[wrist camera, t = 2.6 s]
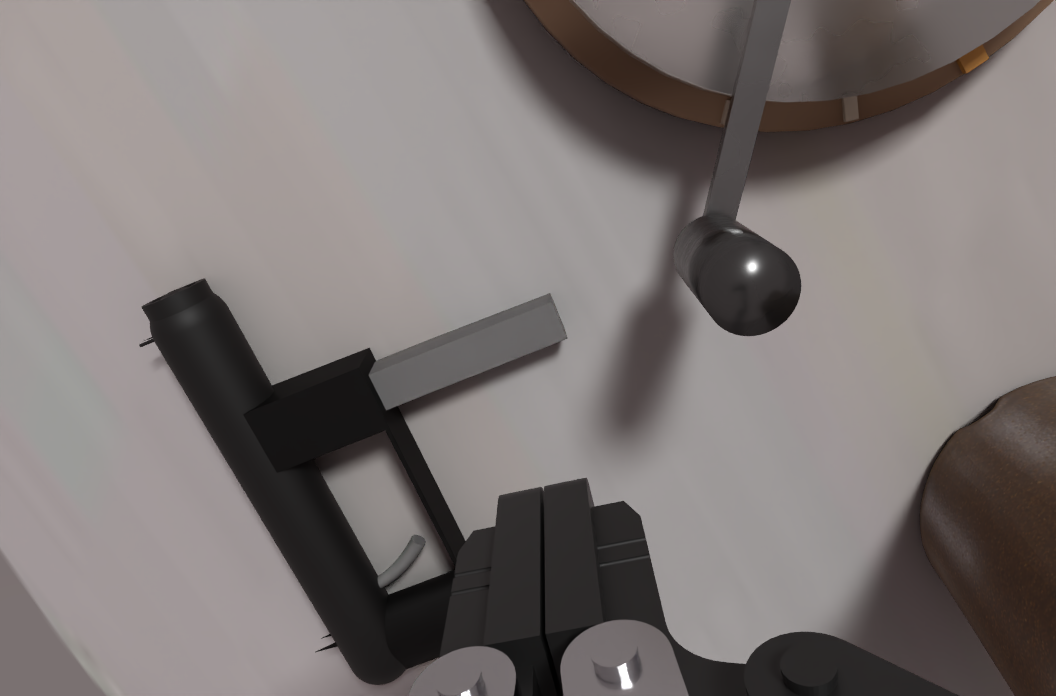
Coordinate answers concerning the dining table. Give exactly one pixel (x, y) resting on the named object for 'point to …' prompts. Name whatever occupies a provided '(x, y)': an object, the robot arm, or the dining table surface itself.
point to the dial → (779, 76)
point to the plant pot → (1001, 532)
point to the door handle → (321, 427)
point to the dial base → (712, 108)
